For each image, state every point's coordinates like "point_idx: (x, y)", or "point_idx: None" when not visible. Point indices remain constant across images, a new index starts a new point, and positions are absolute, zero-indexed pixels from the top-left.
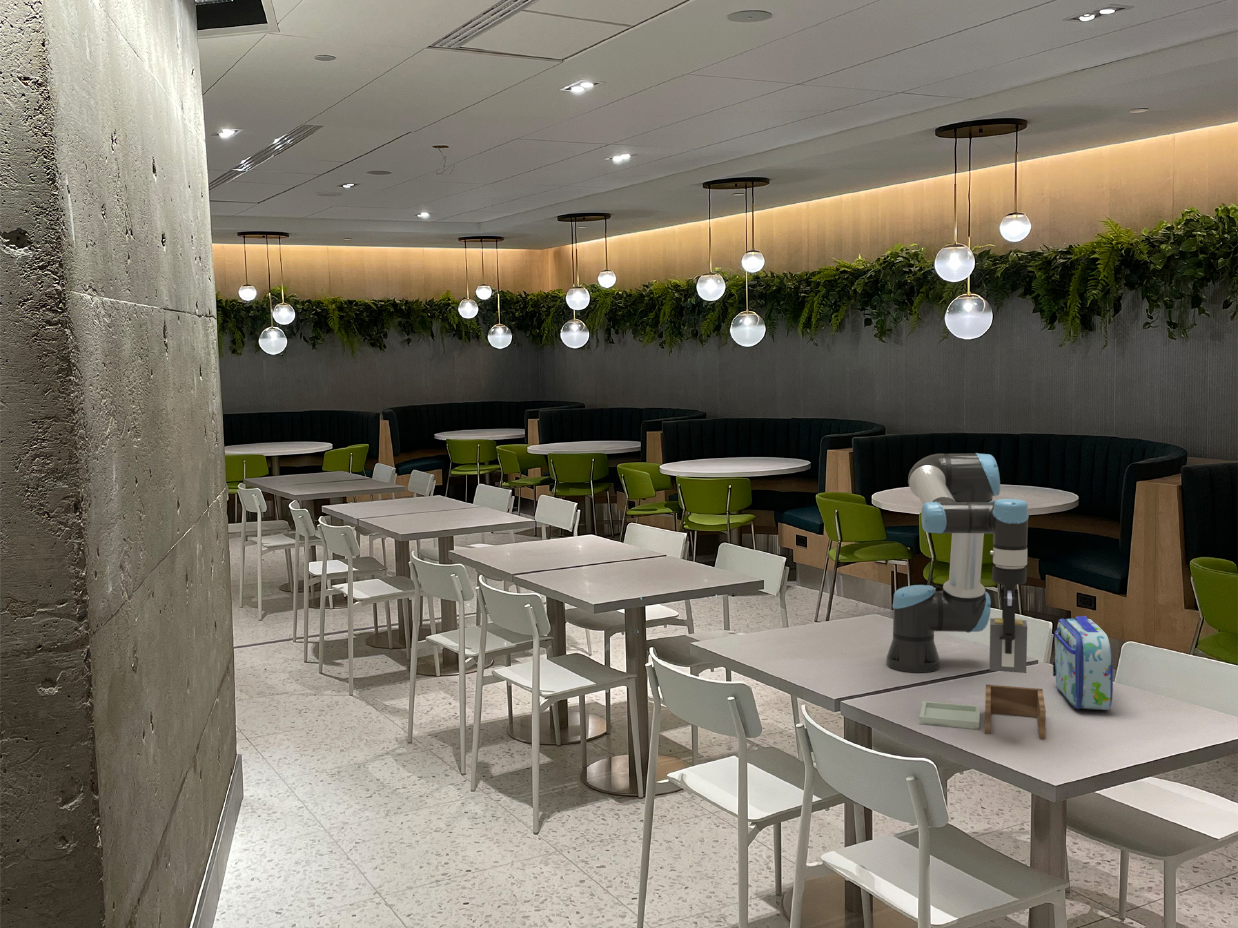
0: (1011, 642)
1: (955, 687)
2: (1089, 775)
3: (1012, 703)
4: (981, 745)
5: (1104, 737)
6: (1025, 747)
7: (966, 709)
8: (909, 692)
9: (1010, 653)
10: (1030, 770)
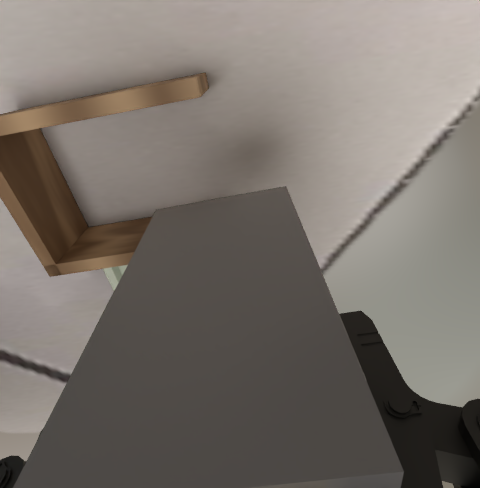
0: (401, 378)
1: None
2: None
3: (50, 193)
4: (315, 206)
5: None
6: (293, 113)
7: (118, 271)
8: (73, 361)
9: (361, 316)
10: (461, 74)
